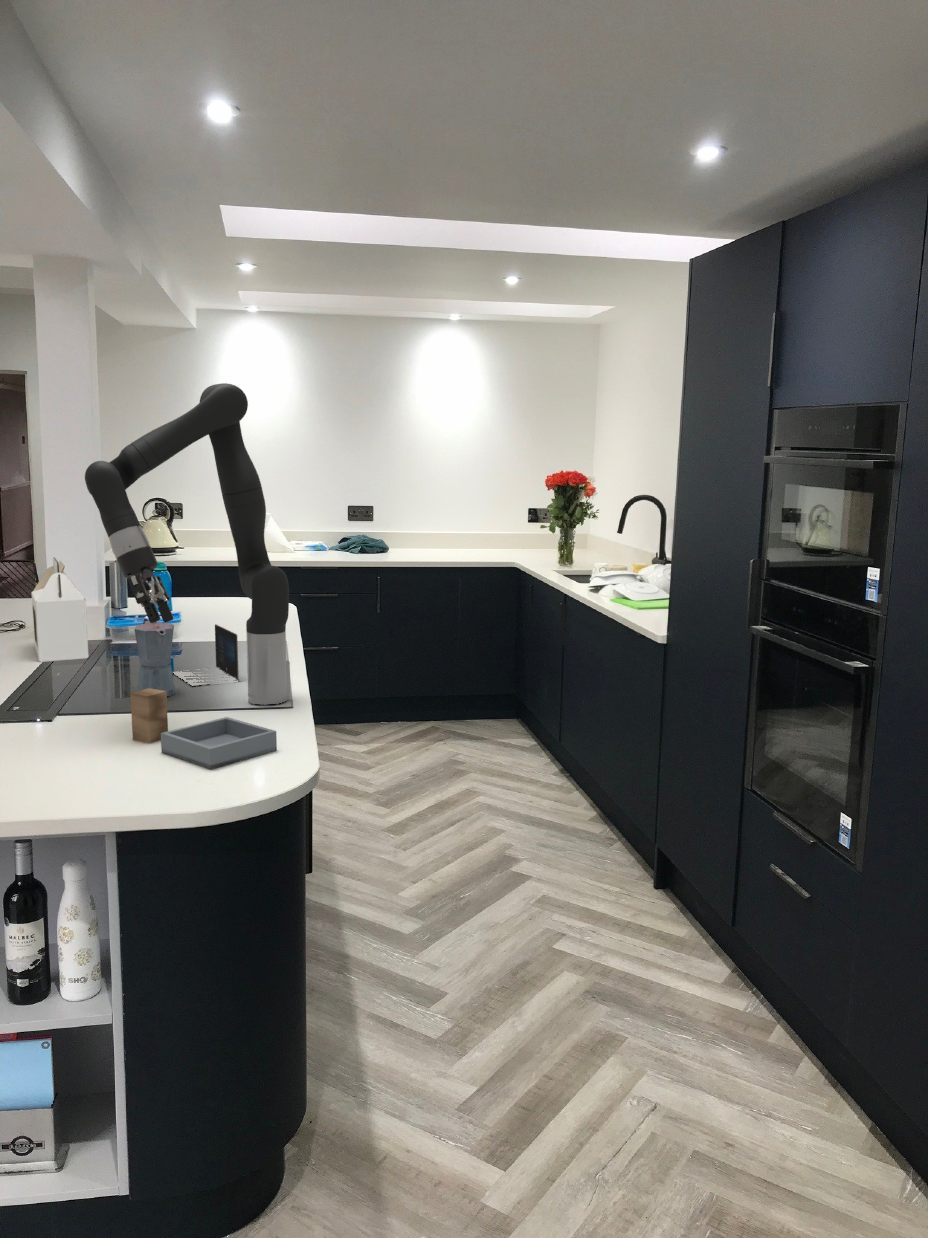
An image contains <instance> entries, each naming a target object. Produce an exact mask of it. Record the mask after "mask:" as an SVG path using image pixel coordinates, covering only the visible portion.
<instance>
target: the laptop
mask: <svg viewBox="0 0 928 1238" xmlns="http://www.w3.org/2000/svg"><path fill="white" fill-rule="evenodd" d="M214 639H215V641H214V642H215V667H216V668H218V669H219V670H222V671H223V672H225V673H227V674H221V675H223V676H224V675H230V676H232V677H233V678H235V679H237V680H238V681H240V677H239V676H240V675H239V672H240V671H239V647H238V639H239V638H238V634H237V633H235V632H234V631H231V630H230V629H228V628H224V627H223V626H221V625H219V624H216V623H215V624H214ZM200 669H201V668H198V669H196V670H200ZM203 669H204V670H205V669H206V668H203ZM189 670H190V669H188V670H187V669H186V671H189ZM206 670H208V669H206ZM215 670H216V669H215ZM182 671H183V670H180V672H179V671H172V674H173V673H174V674H173V675H175V676H176V677H177V676H178V677H177V678H178V679H180V678H181V680H182V679H183V680H184V681H183V680H182V681H183V682H184V683H186V682H188V683H187V684H188V685H189V684H190V685H192V686H194V685H202V684H210V683H196V682H198V681H199V682H200V681H202V682H204V680H196V679H193V680H186V678H199V679H200V677H184V676H190V675H191V676H193V675H194V676H196V675H198V676H201V675H202V676H204V675H209V674H196V675H195V674H193V673H201V672H193V673H192V672H182ZM202 673H203V672H202ZM210 675H213V674H210ZM214 675H218V674H214ZM201 678H209V677H201ZM210 678H211V677H210ZM212 678H213V677H212ZM220 678H224V677H220ZM226 678H228V677H226ZM229 678H230V677H229ZM237 680H233V681H237ZM206 681H209V680H206ZM210 681H214V680H210ZM215 681H216V680H215ZM217 681H218V680H217ZM221 681H223V680H221ZM224 681H228V680H224ZM193 682H195V683H193ZM211 684H212V683H211ZM190 685H189V686H190ZM192 686H191V687H192Z"/></svg>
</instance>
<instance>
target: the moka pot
mask: <svg viewBox="0 0 928 1238" xmlns="http://www.w3.org/2000/svg"><path fill="white" fill-rule="evenodd" d="M174 628H175V625H174V624H172V623H168V622H163V621H157V622H154V623H150V621H149V619H148V618H143V623H141V624H138V625H137V624H136V625H135V627H134V637H135V641H136V648H137V654H138V655H137V656H138V658H139V664H140V665H139V672H138V683H137V691H140V690H144V689H148V688H151V689H157V690H163V691H166V694H167V696H169V697H171V696H173V695H174V694H175V693H176V688H175V687H176V686H175V682H174V676H173V675H174V674H173V670H172V665H171V657H172V651H173V640H174Z"/></svg>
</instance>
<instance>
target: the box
mask: <svg viewBox="0 0 928 1238" xmlns="http://www.w3.org/2000/svg"><path fill="white" fill-rule="evenodd" d="M277 739H278V738H277V730H274V729H271V728H268V727H263V726H260V725H257V724H253V723H249V722H247V721H246V722H245V721H243V720H239V719H237V718H232V717H230V716H226V717H225V716H224V717H221V718H216V719H213V720H209V721H205V722H200V723H197V724H192V725H189V726H185V727H180V728H176V729H175V728H174V729H172V730H168V731H167V732H163V733H161V740H160V747H161V749H160V750H161V753H163V754H164V755H168V756H171V757H174V758H176V759H179V760H182V761H185V762H188V763H191V764H193V763H194V765H197V766H200V767H202V768H205V769H208V770H213V768H214V769H216V768H217V767H218V768H220V766H221V767H223V766H227V765H231V764H234V762H235V763H237V762H241V761H240V760H242V761H245V760H248V759H252V758H255V757H257V756H262V755H265V754H268V753H273V752H275V751H278V748H277V747H278V746H277V745H278V744H277V743H278V742H277ZM230 763H231V764H230Z"/></svg>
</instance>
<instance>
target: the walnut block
mask: <svg viewBox="0 0 928 1238" xmlns="http://www.w3.org/2000/svg"><path fill="white" fill-rule="evenodd" d="M167 701H168V697H167V694H166V691H163V690H157V689H151V688H148V689H144V690H140V691H133V692H130V710H131V711H130V712H131V731H132V735H131V736H132V740H133V741H137V742H141V743H145V744H146V743H147V744H152V743H153V744H154V743H156V742H158V741H161V733H163V732H167V731H169V722H168V720H169V718H168V702H167Z"/></svg>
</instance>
